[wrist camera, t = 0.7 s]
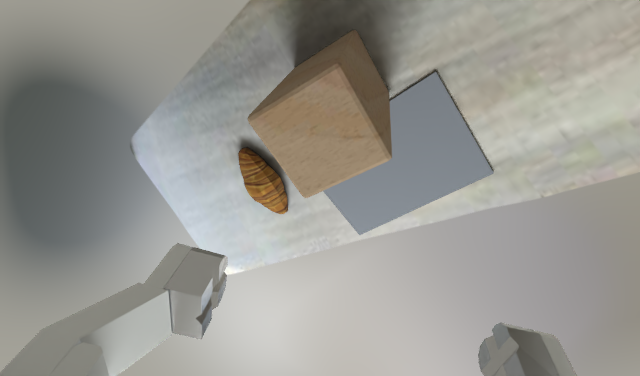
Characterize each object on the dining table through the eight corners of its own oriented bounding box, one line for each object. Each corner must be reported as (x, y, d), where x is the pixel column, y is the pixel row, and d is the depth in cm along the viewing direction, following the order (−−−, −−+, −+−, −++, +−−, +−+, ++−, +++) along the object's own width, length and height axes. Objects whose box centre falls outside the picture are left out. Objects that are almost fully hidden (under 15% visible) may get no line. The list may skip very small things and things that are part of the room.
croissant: (303, 201, 60) (297, 218, 55) (272, 213, 62) (264, 230, 58) (261, 137, 54) (251, 150, 50) (229, 152, 57) (217, 166, 52)
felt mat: (435, 71, 45) (436, 71, 44) (493, 172, 51) (493, 173, 50) (297, 159, 55) (297, 159, 55) (359, 234, 61) (359, 235, 61)
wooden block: (293, 68, 47) (243, 119, 31) (355, 27, 43) (338, 60, 27) (330, 127, 51) (304, 201, 34) (390, 95, 47) (394, 160, 30)
